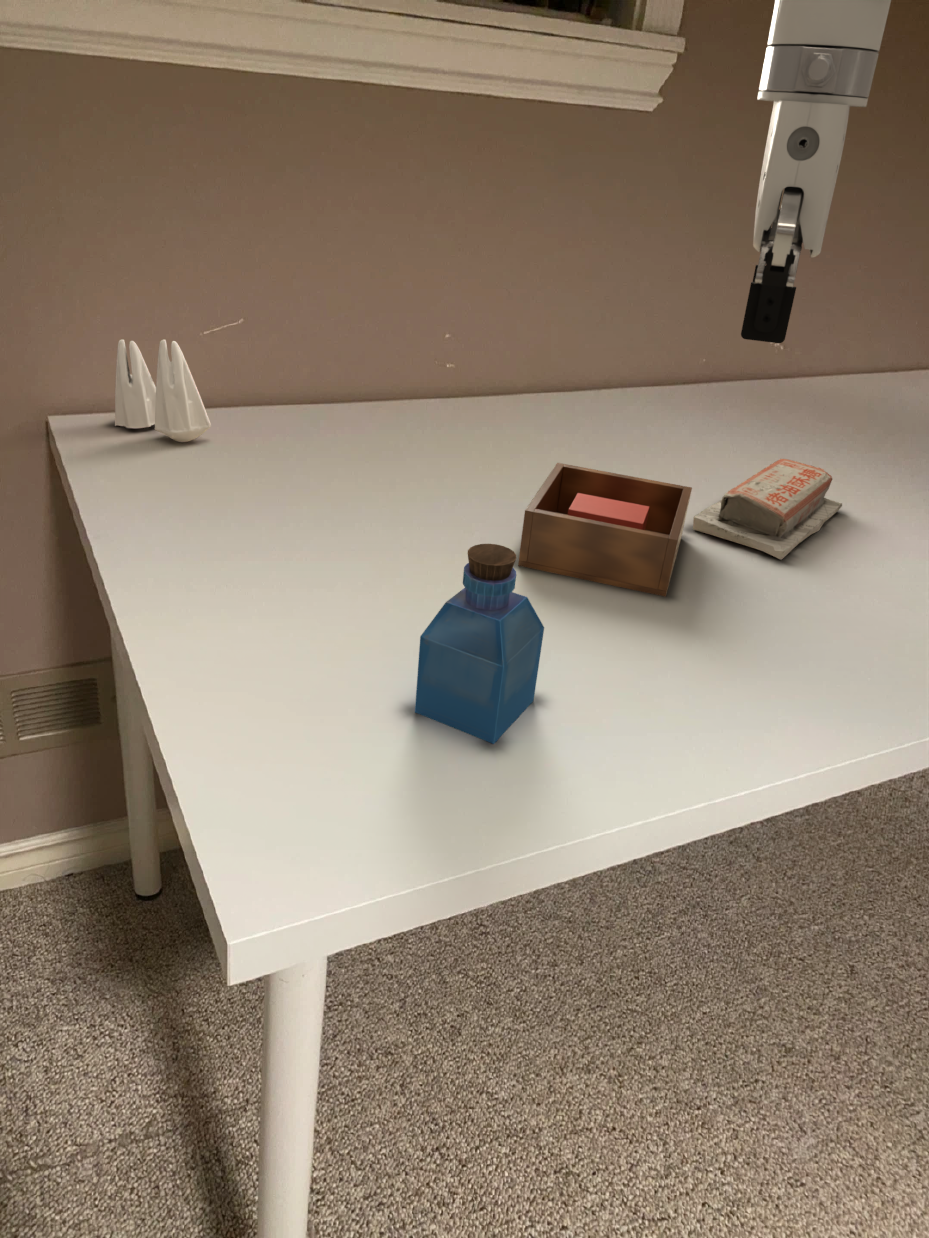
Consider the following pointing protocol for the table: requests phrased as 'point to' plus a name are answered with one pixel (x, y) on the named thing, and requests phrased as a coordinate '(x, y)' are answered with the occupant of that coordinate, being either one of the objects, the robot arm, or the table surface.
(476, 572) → the perfume bottle
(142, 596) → the table surface
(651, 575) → the holder
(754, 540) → the packaged product
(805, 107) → the robot arm
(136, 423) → the shaker set
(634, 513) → the block
